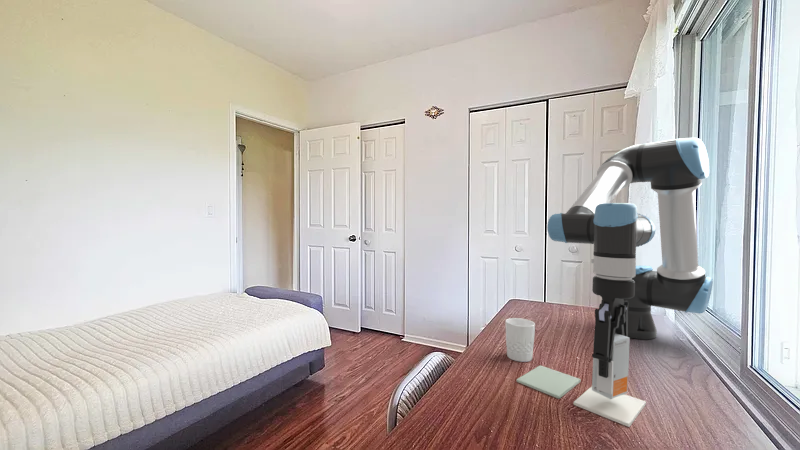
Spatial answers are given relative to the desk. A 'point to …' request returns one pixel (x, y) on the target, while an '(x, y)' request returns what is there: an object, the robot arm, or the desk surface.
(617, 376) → the skincare box
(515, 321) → the white cup
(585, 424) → the desk surface
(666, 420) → the desk surface
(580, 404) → the taller pad
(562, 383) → the shorter pad
